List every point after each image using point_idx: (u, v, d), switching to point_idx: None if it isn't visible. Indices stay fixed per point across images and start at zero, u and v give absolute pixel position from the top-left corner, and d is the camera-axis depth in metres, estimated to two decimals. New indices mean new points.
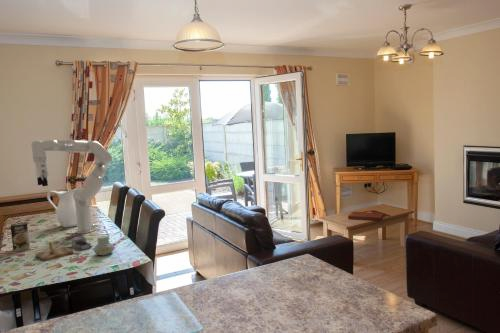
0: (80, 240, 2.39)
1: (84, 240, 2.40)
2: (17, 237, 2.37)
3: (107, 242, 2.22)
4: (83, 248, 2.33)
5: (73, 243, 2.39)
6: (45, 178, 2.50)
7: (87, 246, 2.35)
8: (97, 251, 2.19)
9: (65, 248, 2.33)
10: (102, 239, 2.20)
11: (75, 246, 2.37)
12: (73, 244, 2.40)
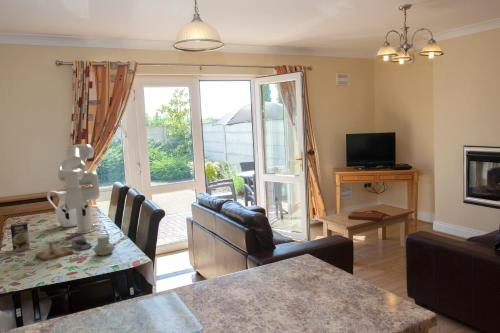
0: (80, 240, 2.39)
1: (84, 240, 2.40)
2: (17, 237, 2.37)
3: (107, 242, 2.22)
4: (83, 248, 2.33)
5: (73, 243, 2.39)
6: None
7: (87, 246, 2.35)
8: (97, 251, 2.19)
9: (65, 248, 2.33)
10: (102, 239, 2.20)
11: (75, 246, 2.37)
12: (73, 244, 2.40)
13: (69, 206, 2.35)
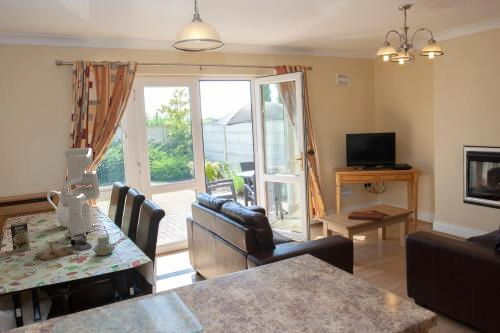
0: (80, 240, 2.39)
1: (84, 240, 2.40)
2: (17, 237, 2.37)
3: (107, 242, 2.22)
4: (83, 248, 2.33)
5: None
6: None
7: (87, 246, 2.35)
8: (97, 251, 2.19)
9: (65, 248, 2.33)
10: (102, 239, 2.20)
11: (75, 246, 2.37)
12: None
13: (72, 232, 2.36)
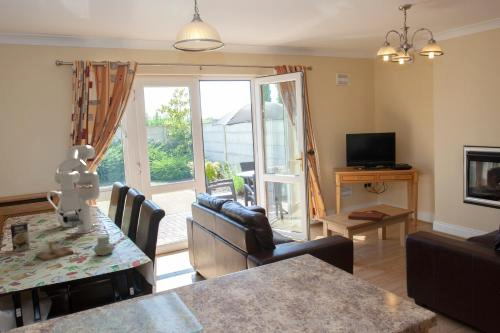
0: (72, 217, 2.38)
1: (76, 217, 2.40)
2: (17, 237, 2.37)
3: (107, 242, 2.22)
4: (75, 224, 2.33)
5: None
6: None
7: (79, 222, 2.34)
8: (97, 251, 2.19)
9: (65, 248, 2.33)
10: (102, 239, 2.20)
11: (67, 222, 2.37)
12: None
13: (64, 209, 2.36)
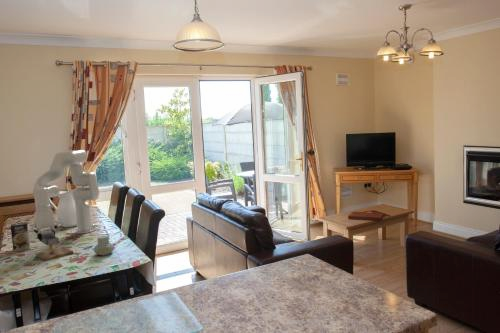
0: (47, 234, 2.25)
1: (52, 234, 2.26)
2: (17, 237, 2.37)
3: (107, 242, 2.22)
4: (50, 242, 2.19)
5: None
6: None
7: (54, 240, 2.21)
8: (97, 251, 2.19)
9: (65, 248, 2.33)
10: (102, 239, 2.20)
11: (42, 240, 2.23)
12: None
13: (39, 226, 2.23)
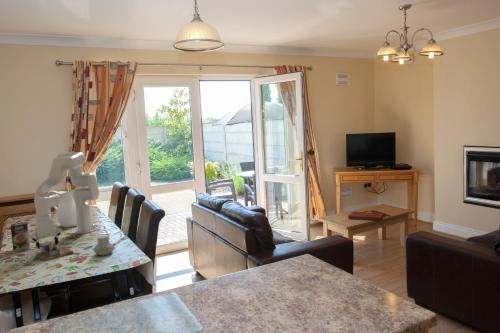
0: None
1: (53, 245, 2.27)
2: (17, 237, 2.37)
3: (107, 242, 2.22)
4: (51, 254, 2.20)
5: (41, 249, 2.26)
6: None
7: (56, 252, 2.22)
8: (97, 251, 2.19)
9: (65, 248, 2.33)
10: (102, 239, 2.20)
11: (43, 252, 2.24)
12: (41, 250, 2.27)
13: (40, 235, 2.23)
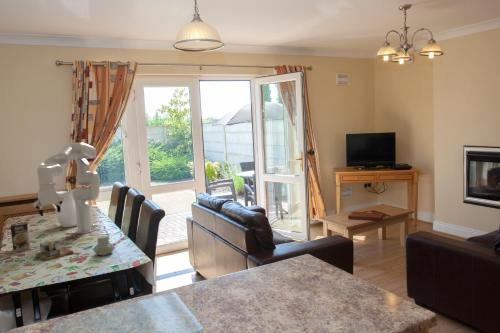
0: None
1: (53, 245, 2.27)
2: (17, 237, 2.37)
3: (107, 242, 2.22)
4: (51, 254, 2.20)
5: (41, 249, 2.26)
6: None
7: (56, 252, 2.22)
8: (97, 251, 2.19)
9: (65, 248, 2.33)
10: (102, 239, 2.20)
11: (43, 252, 2.24)
12: (41, 250, 2.27)
13: (43, 203, 2.33)
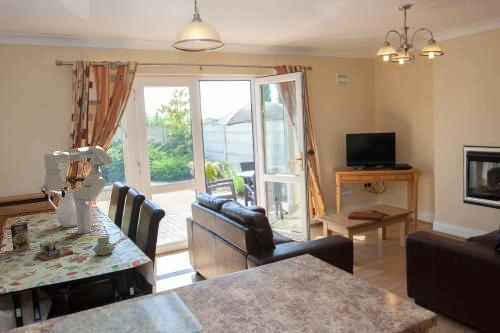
0: None
1: (53, 245, 2.27)
2: (17, 237, 2.37)
3: (107, 242, 2.22)
4: (51, 254, 2.20)
5: (41, 249, 2.26)
6: None
7: (56, 252, 2.22)
8: (97, 251, 2.19)
9: (65, 248, 2.33)
10: (102, 239, 2.20)
11: (43, 252, 2.24)
12: (41, 250, 2.27)
13: (48, 187, 2.47)
